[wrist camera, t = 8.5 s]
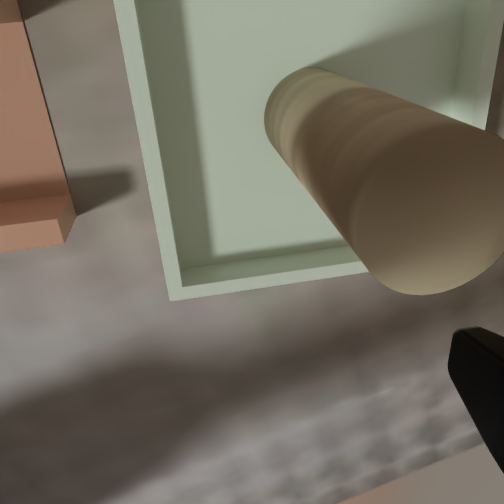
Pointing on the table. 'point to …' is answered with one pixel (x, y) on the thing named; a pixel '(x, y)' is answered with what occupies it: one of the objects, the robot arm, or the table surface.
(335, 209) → the dowel
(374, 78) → the tray
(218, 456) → the table surface
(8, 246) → the cradle
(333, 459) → the table surface
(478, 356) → the robot arm
